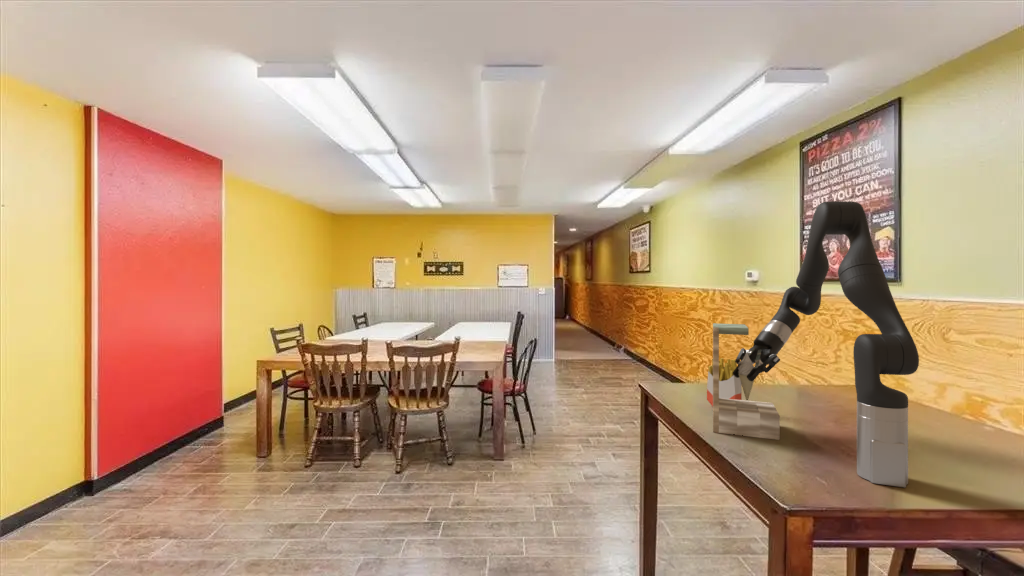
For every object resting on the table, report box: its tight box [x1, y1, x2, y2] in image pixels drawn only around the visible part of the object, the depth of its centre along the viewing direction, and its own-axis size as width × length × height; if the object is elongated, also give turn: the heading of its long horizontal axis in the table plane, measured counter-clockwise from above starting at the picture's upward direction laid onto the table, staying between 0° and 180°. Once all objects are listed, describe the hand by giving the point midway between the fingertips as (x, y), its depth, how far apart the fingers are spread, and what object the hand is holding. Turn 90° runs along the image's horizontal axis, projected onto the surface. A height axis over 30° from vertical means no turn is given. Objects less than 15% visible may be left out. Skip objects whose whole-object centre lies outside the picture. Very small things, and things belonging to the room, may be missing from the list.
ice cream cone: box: [738, 353, 755, 401], centre depth 142 cm, size 5×5×15 cm
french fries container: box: [706, 357, 743, 407], centre depth 166 cm, size 5×11×18 cm, turn 34°
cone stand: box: [712, 323, 781, 441], centre depth 143 cm, size 16×18×32 cm
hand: (742, 377), depth 142 cm, fingers closed on ice cream cone, 5 cm apart
